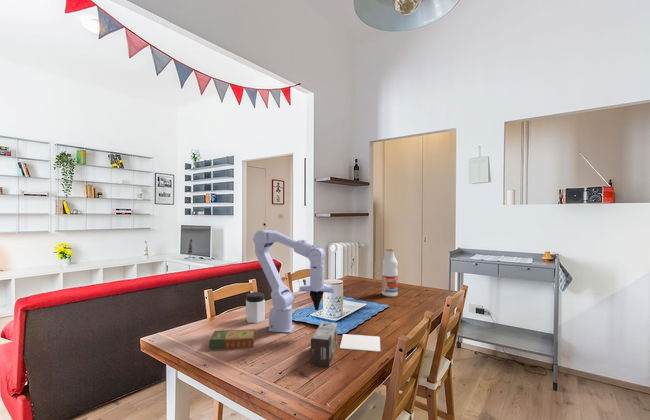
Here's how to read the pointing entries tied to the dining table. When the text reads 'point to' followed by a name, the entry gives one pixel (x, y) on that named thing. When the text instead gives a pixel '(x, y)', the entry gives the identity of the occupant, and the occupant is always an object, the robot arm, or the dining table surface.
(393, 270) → the fruit juice
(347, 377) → the dining table surface
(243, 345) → the carton
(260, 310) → the jar
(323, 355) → the coffee box
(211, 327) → the dining table surface
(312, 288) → the robot arm
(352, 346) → the mat
